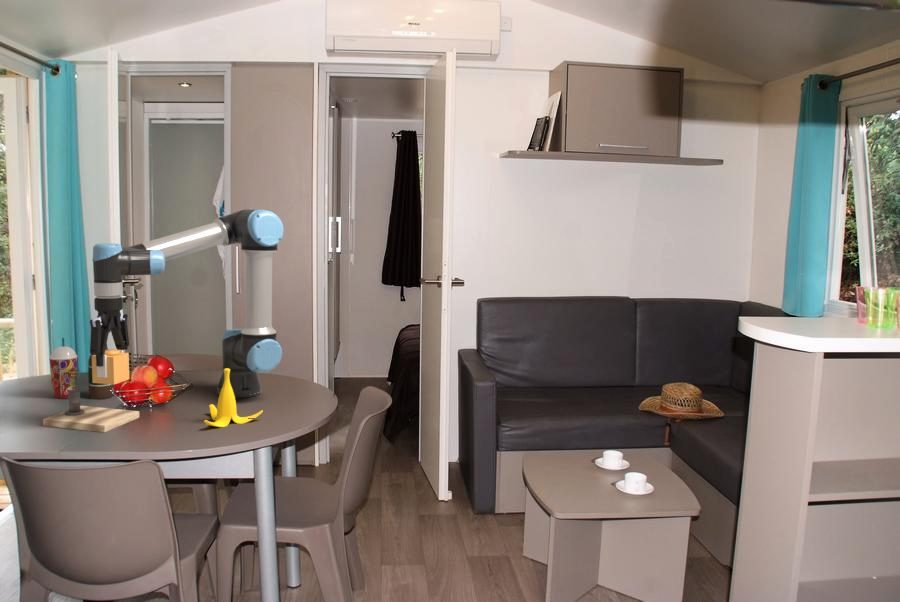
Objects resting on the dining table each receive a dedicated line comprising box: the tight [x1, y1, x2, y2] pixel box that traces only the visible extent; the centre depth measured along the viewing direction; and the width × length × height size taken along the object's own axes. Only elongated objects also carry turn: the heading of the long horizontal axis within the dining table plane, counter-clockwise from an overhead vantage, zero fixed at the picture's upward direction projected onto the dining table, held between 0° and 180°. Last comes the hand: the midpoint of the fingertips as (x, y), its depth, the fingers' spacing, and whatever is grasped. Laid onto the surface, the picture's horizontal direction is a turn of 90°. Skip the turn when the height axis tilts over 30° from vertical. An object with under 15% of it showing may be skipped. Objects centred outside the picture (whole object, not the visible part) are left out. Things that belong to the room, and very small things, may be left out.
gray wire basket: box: [128, 352, 162, 373], centre depth 272 cm, size 27×11×10 cm, turn 87°
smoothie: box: [48, 337, 79, 400], centre depth 238 cm, size 8×8×20 cm
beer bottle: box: [87, 328, 115, 400], centre depth 240 cm, size 8×8×24 cm
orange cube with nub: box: [92, 348, 130, 386], centre depth 210 cm, size 7×7×9 cm
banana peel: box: [203, 368, 264, 428], centre depth 215 cm, size 16×19×17 cm
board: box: [42, 388, 140, 433], centre depth 212 cm, size 20×16×9 cm
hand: (111, 374), depth 210 cm, fingers closed on orange cube with nub, 7 cm apart
